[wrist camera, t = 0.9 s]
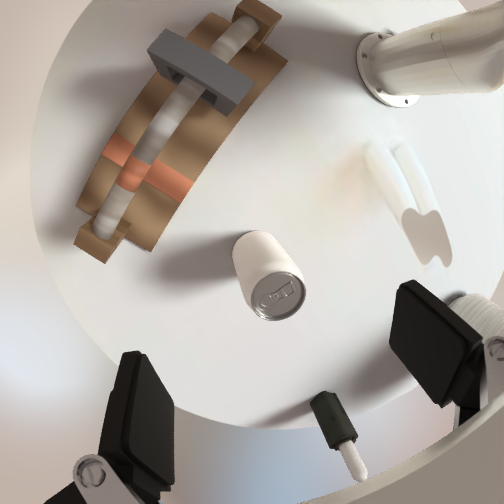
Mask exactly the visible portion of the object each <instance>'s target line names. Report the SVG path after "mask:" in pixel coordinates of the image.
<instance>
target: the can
mask: <svg viewBox="0 0 504 504" xmlns="http://www.w3.org/2000/svg"><path fill="white" fill-rule="evenodd" d="M232 259H233V263H234V267H235V270H236V273H237V277H238V280H239V283H240V286H241V289H242V292H243V295H244V298H245V301H246V303H247V304H248V306H249V307H250V308H251V309H252V310H253V311H254V312H255V313H256V314H257V315H258V316H259V317H261V318H263V319H265V320H269V321H279V320H283V319H286V318H288V317H290V316H292V315H293V314H295V313H296V312H297V311H298V310H299V309H300V307H301V306H302V304H303V302H304V300H305V296H306V288H305V285H304V279H303V276H302V274H301V272H300V270H299V269H298V267H297V266H296V265H295V264H294V262H293V261H292V260H291V258H290V257H289V256H288V255H287V253H286V252H285V251H284V250H283V248H282V247H281V246H280V245H279V243H278V242H277V241H276V240H275V239H274V238H273V237H272V236H271V235H270V234H268V233H266V232H263V231H252V232H249V233H246V234H244V235H243V236H241V237H240V238H239V239H238V240H237V242H236V243H235V245H234V247H233V251H232Z"/></svg>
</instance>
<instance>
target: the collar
mask: <svg viewBox="0 0 504 504" xmlns="http://www.w3.org/2000/svg"><path fill="white" fill-rule="evenodd" d="M147 52H148V53H149V55H150V57H151V59H152V61H153V63H154V64H155V66H156V68H157V70H158V72H159V74H160V75H161V76H162V77H164V78H165V79H167V80H169V81H171V82H172V83H174V84H176V85H177V86H178V84H179V83H180V82H181V81H182V79H183V78H184V77H185V76H186V77H187V78H189V79H191V80H192V81H194V82H196V83H197V84H199V85H200V86H202V87H204V88H205V91H204V92H203V93H202V94H201V96H200V97H199V99H200V100H202V101H203V102H205V103H206V104H208V105H209V106H211V107H213V108H214V109H216V110H217V111H219V112H220V113H222V114H223V115H225V116H226V117H227V116H228V115H229V114H230V113H231V111H232V110H233V109H234V108H235V107H236V106H237V105H238V104H239V102H240V101H241V100H242V99H243V97H244V96H245V95H246V94H247V93H248V91H249V90H250V89H251V88H252V87H253V85H254V84H255V82H254V81H252V80H251V79H250V78H248V77H247V76H245V75H244V74H242V73H241V72H239V71H238V70H236V69H235V68H233V67H232V66H230V65H229V64H227V63H225V62H224V61H222V60H221V59H219V58H217V57H216V56H214V55H212V54H211V53H209V52H207V51H206V50H204V49H202V48H201V47H199V46H197V45H195V44H194V43H192V42H190V41H188V40H186V39H184V38H183V37H181V36H179V35H177V34H175V33H173V32H171V31H169V30H167V29H165V30H164V31H163V32H162V33H161V34H160V35H159V37H158V38H157V39H156V40H155V41H154V42H153V43H152V44H151V46H150V47H149V48H148V49H147Z"/></svg>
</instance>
